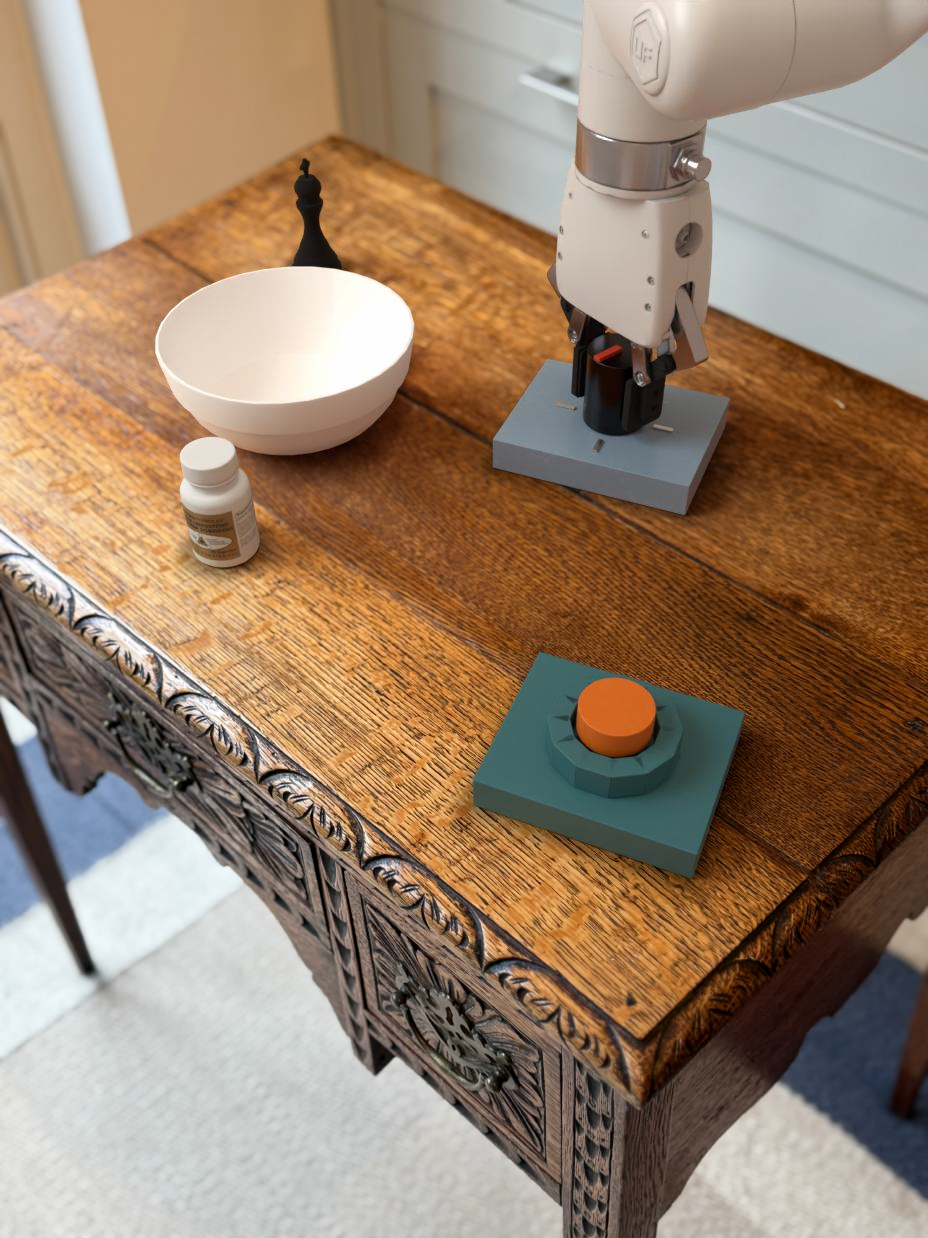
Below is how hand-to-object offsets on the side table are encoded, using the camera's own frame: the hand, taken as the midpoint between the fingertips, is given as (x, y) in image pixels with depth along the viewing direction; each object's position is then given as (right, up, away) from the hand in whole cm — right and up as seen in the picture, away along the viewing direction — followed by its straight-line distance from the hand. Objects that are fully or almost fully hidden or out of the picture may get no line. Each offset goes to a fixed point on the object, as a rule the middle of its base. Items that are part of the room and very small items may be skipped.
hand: (615, 404), depth 83 cm
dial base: (0, -3, +3) cm, 4 cm away
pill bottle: (-26, -10, -5) cm, 29 cm away
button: (-3, -21, -21) cm, 29 cm away
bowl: (-23, 0, +6) cm, 24 cm away
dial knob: (0, -1, +1) cm, 1 cm away
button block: (-3, -23, -18) cm, 30 cm away
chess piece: (-24, +16, +22) cm, 36 cm away
